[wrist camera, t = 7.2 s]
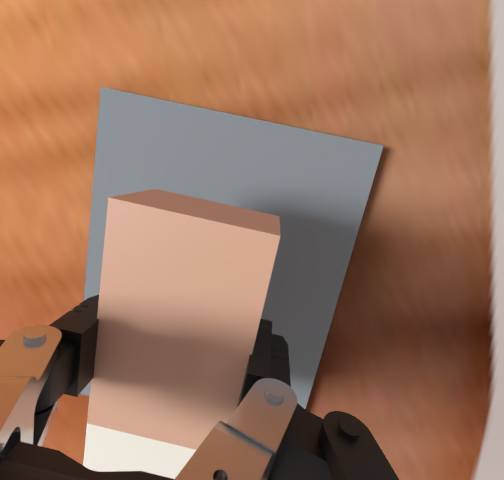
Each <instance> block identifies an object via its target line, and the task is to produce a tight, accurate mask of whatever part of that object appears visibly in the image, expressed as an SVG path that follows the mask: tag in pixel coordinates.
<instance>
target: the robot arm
mask: <svg viewBox="0 0 504 480" xmlns="http://www.w3.org/2000/svg"><path fill="white" fill-rule="evenodd" d="M98 302H99V295H96V296H93V297H90V298H87V299H86V300H85V301H83V302H82V303H80V304H79V306H76V307H75V308H73V309H72V311H69V312H68V313H66V314H65V315H63V316H62V317H60V318H59V319H58V320H56V321H55V322H53V323H52V324H50V325H49V326H46V325H37V326H30V327H25V328H22V329H20V330H17V331H15V332H14V333H12V334H11V335H10V336H9V337H8V338H7V339H6V340H0V480H399V479H398V477H397V475H396V474H395V472H394V470H393V469H392V467H391V465H390V464H389V462H388V460H387V459H386V457H385V455H384V454H383V452H382V450H381V449H380V447H379V445H378V444H377V442H376V440H375V439H374V437H373V435H372V434H371V432H370V431H369V429H368V428H367V427H366V426H365V424H363V423H362V422H361V421H360V420H359V419H357V418H356V417H354V416H352V415H350V414H348V413H345V412H340V411H333V412H330V413H328V414H327V415H326V416H325V417H324V419H322V418H320V417H318V416H316V415H314V414H312V413H310V412H308V411H307V410H305V409H304V408H303V407H302V406H300V405H299V404H298V403H297V396H296V394H295V392H294V391H293V389H292V388H291V380H290V365H289V355H288V354H289V350H288V344H287V342H286V341H285V339H284V338H283V336H280V335H276V334H272V321H270V320H265V319H260V323H259V327H258V332H257V336H256V340H255V344H254V348H253V352H252V355H250V356H249V360H248V364H247V368H246V372H245V376H244V381H243V385H242V389H241V393H240V397H239V402H238V406H237V409H236V410H235V412H234V413H233V414H232V416H231V417H230V419H229V420H228V421H227V423H224V422H222V421H219V422H218V423H217V424H216V425H215V426H214V427H213V429H212V430H211V431H210V433H209V434H208V435H207V437H206V438H205V439H204V441H203V442H202V443H201V445H200V446H199V447H198V449H197V450H196V451H195V453H194V454H193V455H192V457H191V458H190V459H189V461H188V462H187V463H186V465H185V466H184V467H183V469H182V470H181V471H180V473H179V474H178V475H177V477H176V478H175V479H172V478H168V477H164V476H160V475H156V474H151V473H147V472H143V471H114V472H95V471H91V470H89V469H88V468H86V467H84V466H83V465H81V464H79V463H78V462H76V461H75V460H73V459H71V458H70V457H68V456H66V455H65V454H63V453H61V452H60V451H58V450H54V449H49V448H45V447H42V445H43V443H44V440H45V438H46V435H47V433H48V430H49V428H50V425H51V423H52V420H53V418H54V415H55V412H56V410H57V401H58V399H59V398H60V397H61V396H62V395H63V394H67V395H71V396H75V397H77V396H78V395H79V394H80V393H81V391H82V390H83V389H84V388H85V387H86V386H87V384H88V383H89V382H90V381H91V380H92V379H93V376H94V366H95V355H96V345H97V334H98V324H99V319H97V313H98Z"/></svg>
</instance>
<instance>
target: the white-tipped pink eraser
mask: <svg viewBox="0 0 504 480" xmlns="http://www.w3.org/2000/svg"><path fill="white" fill-rule="evenodd" d="M280 236H281V235H280V219H279V216H276V215H272V214H267V213H263V212H258V211H254V210H249V209H245V208H240V207H236V206H231V205H227V204H222V203H218V202H213V201H209V200H204V199H200V198H195V197H191V196H186V195H182V194H177V193H173V192H168V191H164V190H159V189H151V190H146V191H140V192H135V193H130V194H124V195H119V196H113V197H108V207H107V217H106V228H105V238H104V249H103V260H102V270H101V281H100V292H99V302H98V313H97V319H99V324H98V334H97V345H96V355H95V366H94V376H93V379H92V380H91V387H90V398H89V409H88V419H87V430H86V440H85V451H84V462H83V466H84V467H86V468H88V469H91V470H95V471H99V472H114V471H143V472H147V473H151V474H156V475H160V476H164V477H168V478H172V479H175V478H176V477H177V475H178V474H179V473H180V471H181V470H182V469H183V467H184V466H185V465H186V463H187V462H188V461H189V459H190V458H191V457H192V455H193V454H194V453H195V451H196V450H197V449H198V447H199V446H200V445H201V443H202V442H203V441H204V439H205V438H206V437H207V435H208V434H209V433H210V431H211V430H212V429H213V427H214V426H215V425H216V424H217V423H218V422H219V421H222V422H224V423H227V421H228V420H229V419H230V417H231V416H232V414H233V413H234V412H235V410H236V409H237V406H238V402H239V397H240V393H241V389H242V385H243V381H244V376H245V372H246V368H247V364H248V360H249V356H250V355H252V352H253V348H254V344H255V340H256V336H257V332H258V327H259V323H260V319H261V315H262V311H263V307H264V303H265V298H266V294H267V290H268V286H269V282H270V278H271V274H272V269H273V265H274V261H275V257H276V253H277V249H278V244H279V240H280Z"/></svg>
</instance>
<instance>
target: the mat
mask: <svg viewBox="0 0 504 480" xmlns="http://www.w3.org/2000/svg"><path fill="white" fill-rule="evenodd" d="M382 150H383V145H378V144H373V143H368V142H363V141H359V140H354V139H349V138H344V137H339V136H335V135H330V134H325V133H320V132H315V131H311V130H306V129H301V128H296V127H291V126H287V125H282V124H277V123H272V122H267V121H263V120H258V119H253V118H248V117H243V116H239V115H234V114H229V113H224V112H219V111H214V110H210V109H205V108H200V107H195V106H190V105H186V104H181V103H176V102H171V101H166V100H162V99H157V98H152V97H147V96H142V95H138V94H133V93H128V92H123V91H118V90H114V89H109V88H104V87H101V89H100V102H99V115H98V127H97V140H96V153H95V165H94V178H93V191H92V203H91V216H90V229H89V241H88V254H87V267H86V279H85V292H84V301H85V300H86V299H87V298H90V297H93V296H96V295H99V292H100V281H101V270H102V260H103V249H104V238H105V228H106V217H107V207H108V197H113V196H119V195H124V194H130V193H135V192H140V191H146V190H151V189H159V190H164V191H168V192H173V193H177V194H182V195H186V196H191V197H195V198H200V199H204V200H209V201H213V202H218V203H222V204H227V205H231V206H236V207H240V208H245V209H249V210H254V211H258V212H263V213H267V214H272V215H276V216H279V219H280V235H281V236H280V240H279V244H278V249H277V253H276V257H275V261H274V265H273V269H272V274H271V278H270V282H269V286H268V290H267V294H266V298H265V303H264V307H263V311H262V315H261V319H265V320H270V321H272V334H276V335H280V336H283V338H284V339H285V341H286V342H287V344H288V350H289V354H288V355H289V365H290V380H291V388H292V389H293V391H294V392H295V394H296V396H297V403H298V404H299V405H300V406H302V407H303V408H304V409H306V406H307V402H308V399H309V396H310V392H311V389H312V386H313V382H314V379H315V375H316V372H317V369H318V365H319V362H320V359H321V355H322V352H323V348H324V345H325V342H326V338H327V335H328V332H329V328H330V325H331V322H332V318H333V315H334V311H335V308H336V305H337V301H338V298H339V295H340V291H341V288H342V284H343V281H344V278H345V274H346V271H347V268H348V264H349V261H350V257H351V254H352V251H353V247H354V244H355V241H356V237H357V234H358V230H359V227H360V224H361V220H362V217H363V214H364V210H365V207H366V203H367V200H368V197H369V193H370V190H371V187H372V183H373V180H374V176H375V173H376V170H377V166H378V163H379V160H380V156H381V153H382ZM90 387H91V381H90V382H89V383H88V384H87V386H86V387H85V388H84V389H83V390H82V391H81V393H80V394H82V395H87V396H90Z"/></svg>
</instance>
